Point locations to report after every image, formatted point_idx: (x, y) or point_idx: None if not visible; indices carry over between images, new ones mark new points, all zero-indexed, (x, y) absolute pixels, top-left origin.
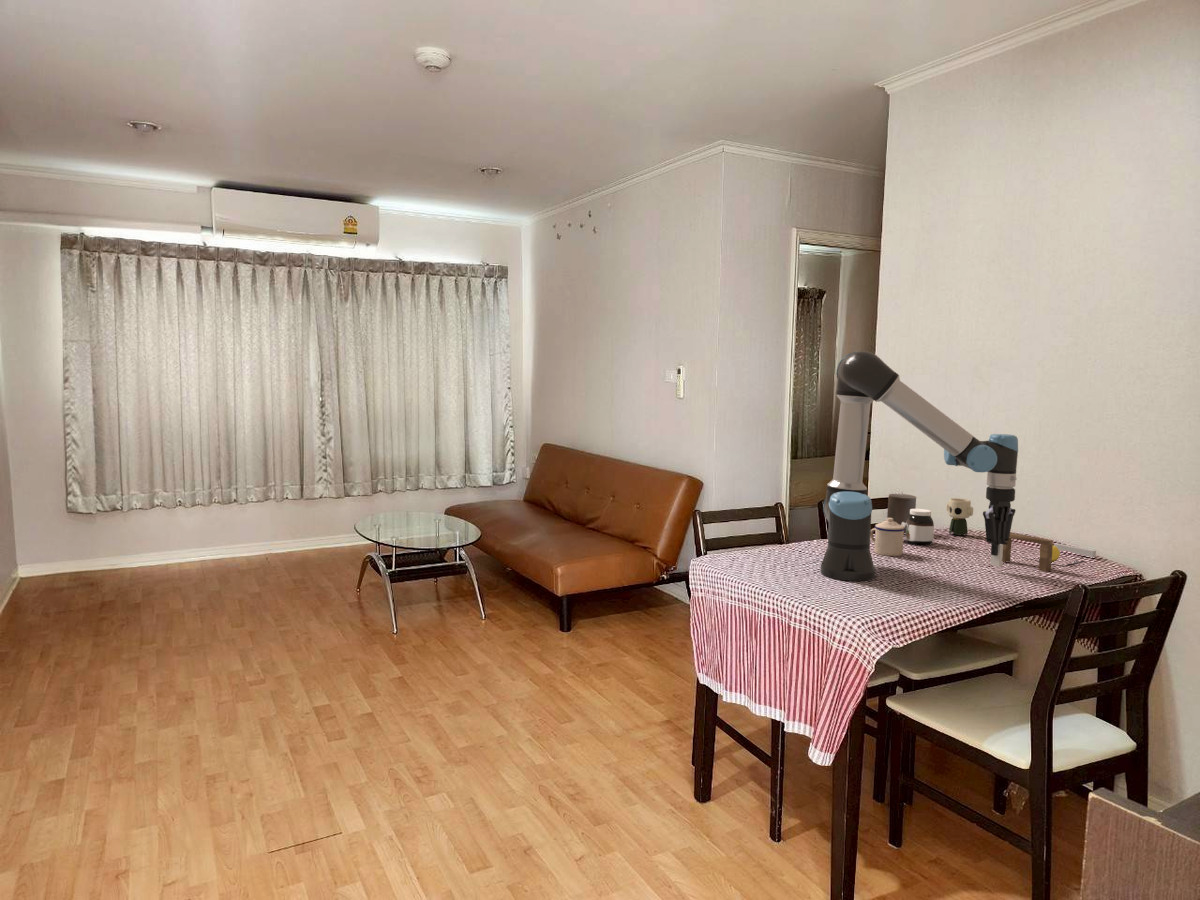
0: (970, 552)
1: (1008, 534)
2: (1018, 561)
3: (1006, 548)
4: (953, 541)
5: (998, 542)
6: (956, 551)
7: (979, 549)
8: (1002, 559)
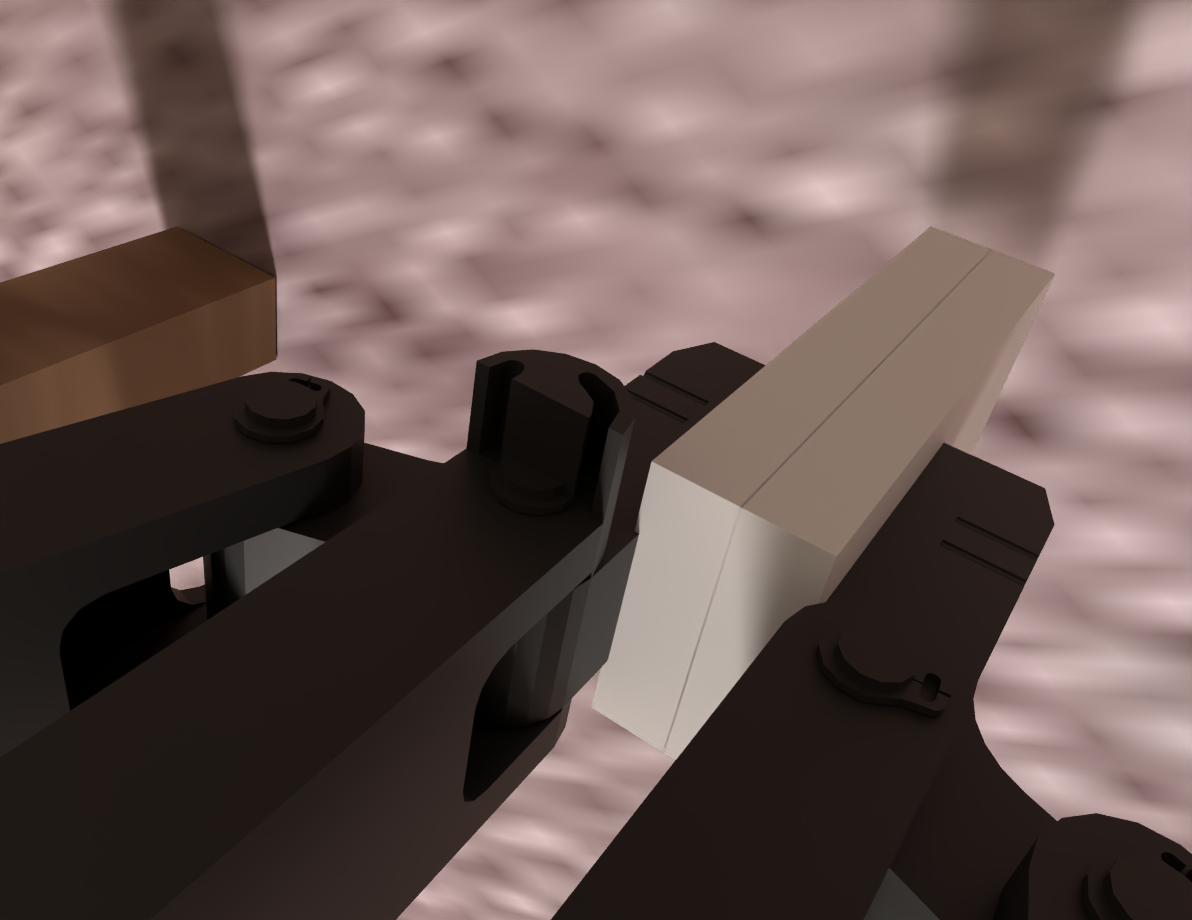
0: None
1: (71, 483)
2: (98, 136)
3: (69, 341)
4: None
5: (886, 708)
6: None
7: None
8: (244, 323)
